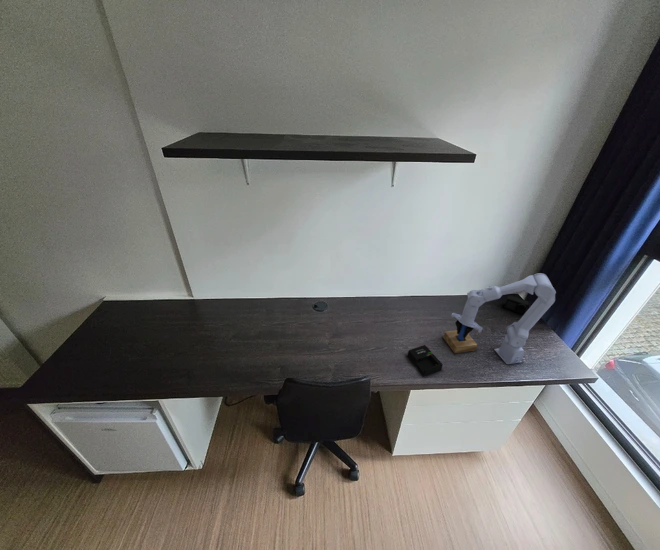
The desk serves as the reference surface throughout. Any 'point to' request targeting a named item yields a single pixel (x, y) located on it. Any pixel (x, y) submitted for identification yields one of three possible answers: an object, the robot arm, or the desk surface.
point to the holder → (459, 342)
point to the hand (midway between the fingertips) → (461, 334)
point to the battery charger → (424, 360)
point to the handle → (462, 332)
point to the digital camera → (516, 304)
